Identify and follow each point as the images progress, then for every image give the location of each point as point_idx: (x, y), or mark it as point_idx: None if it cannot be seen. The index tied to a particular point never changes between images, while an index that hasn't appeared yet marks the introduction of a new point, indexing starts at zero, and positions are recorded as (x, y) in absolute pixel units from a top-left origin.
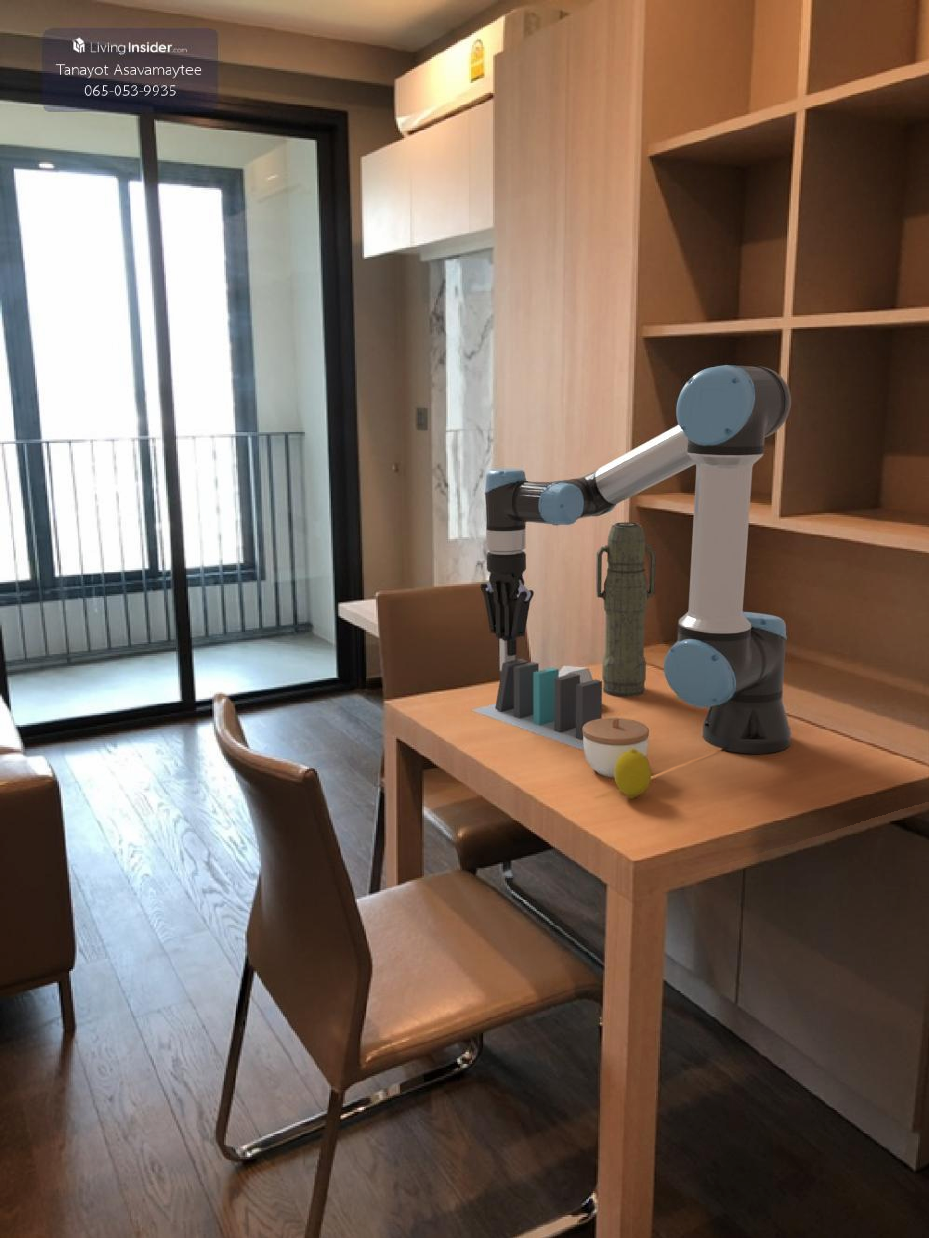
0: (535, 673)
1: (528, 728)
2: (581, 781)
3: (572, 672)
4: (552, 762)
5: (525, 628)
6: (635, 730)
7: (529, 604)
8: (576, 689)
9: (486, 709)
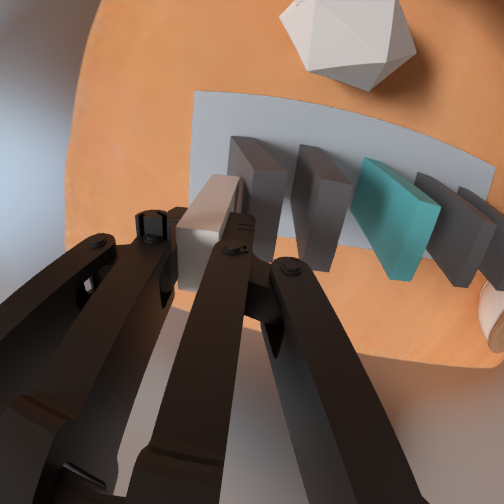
0: (396, 278)
1: (357, 239)
2: (468, 323)
3: (389, 54)
4: (434, 309)
5: (326, 297)
6: None
7: (410, 472)
8: (491, 283)
9: None
